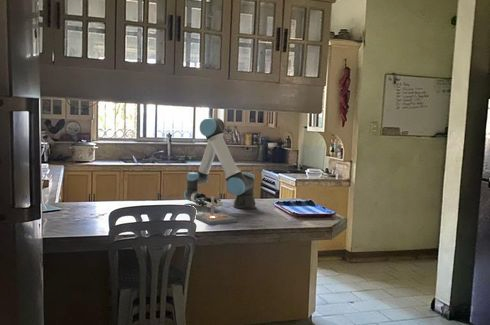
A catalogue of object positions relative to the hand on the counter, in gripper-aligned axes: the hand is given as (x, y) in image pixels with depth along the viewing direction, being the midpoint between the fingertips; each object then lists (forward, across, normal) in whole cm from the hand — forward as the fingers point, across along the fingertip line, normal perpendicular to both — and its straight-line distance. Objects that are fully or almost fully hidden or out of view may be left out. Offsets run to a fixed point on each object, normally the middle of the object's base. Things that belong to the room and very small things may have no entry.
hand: (216, 204), depth 284 cm
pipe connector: (-5, 0, -6) cm, 8 cm away
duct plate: (+13, +8, -6) cm, 17 cm away
